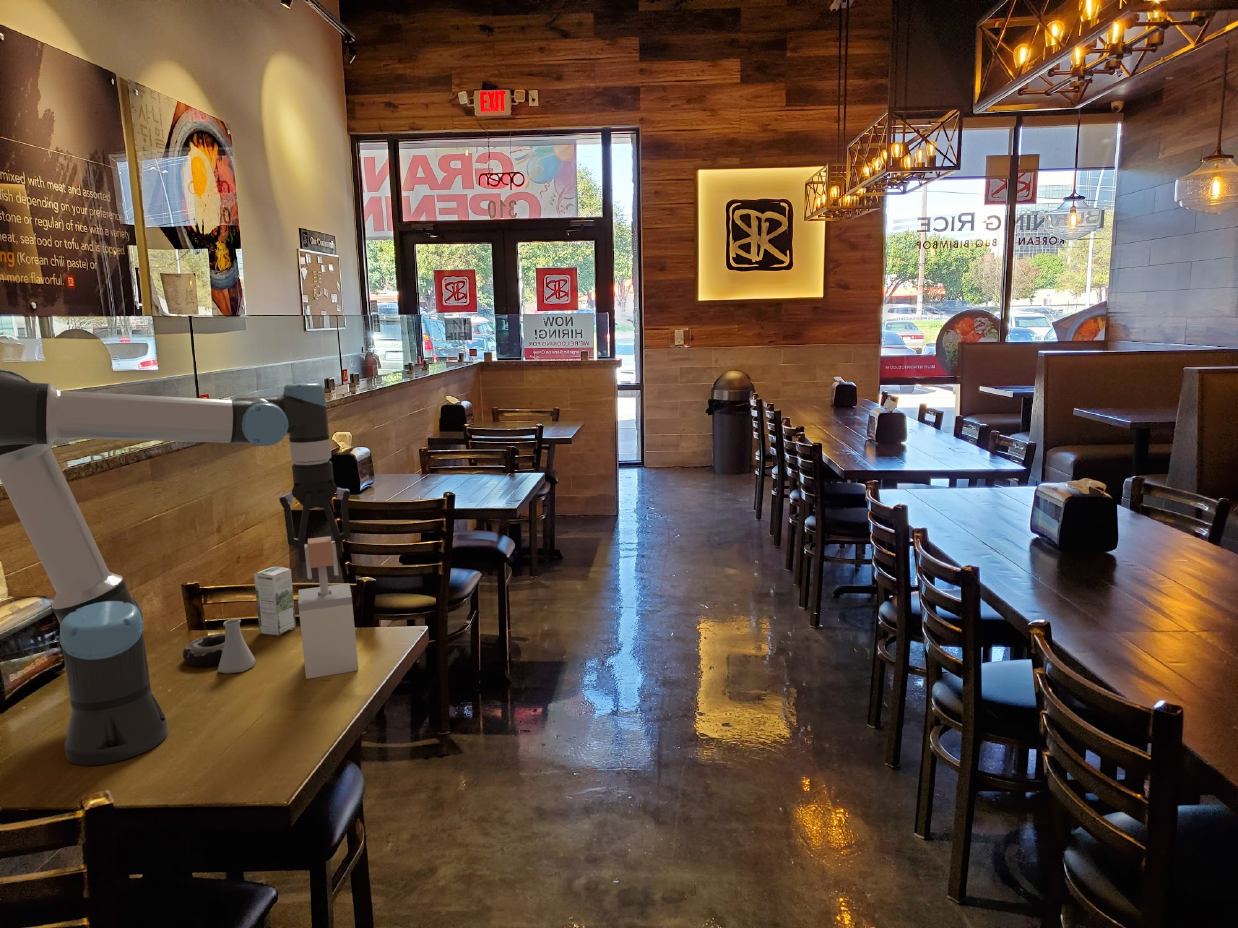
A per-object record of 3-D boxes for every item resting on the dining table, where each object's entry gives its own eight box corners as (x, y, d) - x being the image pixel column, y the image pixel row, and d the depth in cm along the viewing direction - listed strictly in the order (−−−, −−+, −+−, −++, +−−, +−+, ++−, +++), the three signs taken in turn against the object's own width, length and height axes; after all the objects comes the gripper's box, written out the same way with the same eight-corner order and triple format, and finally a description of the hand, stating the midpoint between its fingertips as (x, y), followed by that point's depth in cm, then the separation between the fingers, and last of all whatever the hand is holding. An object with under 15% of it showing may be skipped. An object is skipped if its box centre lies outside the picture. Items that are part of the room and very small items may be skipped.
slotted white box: (358, 670, 173) (351, 596, 170) (306, 678, 169) (298, 604, 167) (355, 652, 182) (349, 583, 179) (305, 660, 178) (298, 589, 176)
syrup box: (277, 625, 201) (270, 565, 199) (297, 627, 199) (291, 567, 196) (259, 633, 196) (252, 572, 193) (279, 636, 194) (272, 574, 191)
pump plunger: (340, 636, 173) (331, 541, 170) (317, 640, 172) (308, 543, 168) (339, 629, 177) (330, 536, 174) (317, 632, 176) (307, 538, 172)
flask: (262, 660, 180) (257, 615, 178) (244, 674, 172) (239, 627, 171) (230, 660, 180) (224, 615, 179) (210, 674, 173) (205, 627, 172)
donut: (214, 645, 190) (212, 628, 189) (256, 651, 186) (254, 633, 185) (171, 666, 179) (168, 648, 178) (215, 672, 175) (212, 653, 174)
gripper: (356, 455, 175) (366, 564, 179) (264, 462, 169) (277, 576, 173) (358, 460, 168) (369, 574, 172) (263, 468, 162) (276, 586, 166)
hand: (323, 575), depth 172 cm, fingers closed on pump plunger, 4 cm apart
